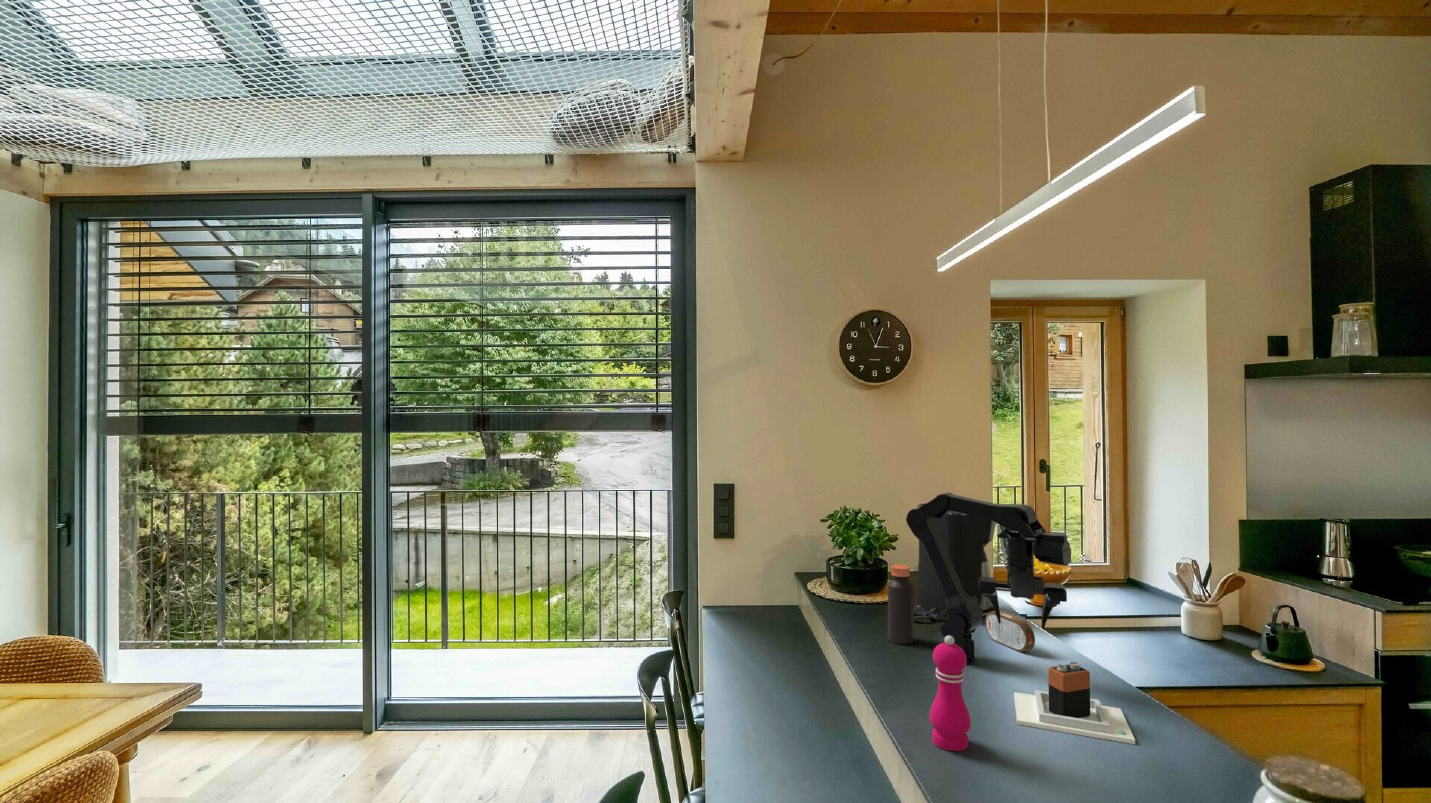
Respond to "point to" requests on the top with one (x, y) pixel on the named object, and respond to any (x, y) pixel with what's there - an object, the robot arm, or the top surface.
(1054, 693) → the battery
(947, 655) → the pepper mill
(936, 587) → the coffee maker
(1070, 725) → the charging cradle
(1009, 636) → the tin
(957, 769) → the top surface
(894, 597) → the bottle
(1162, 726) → the top surface
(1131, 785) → the top surface
